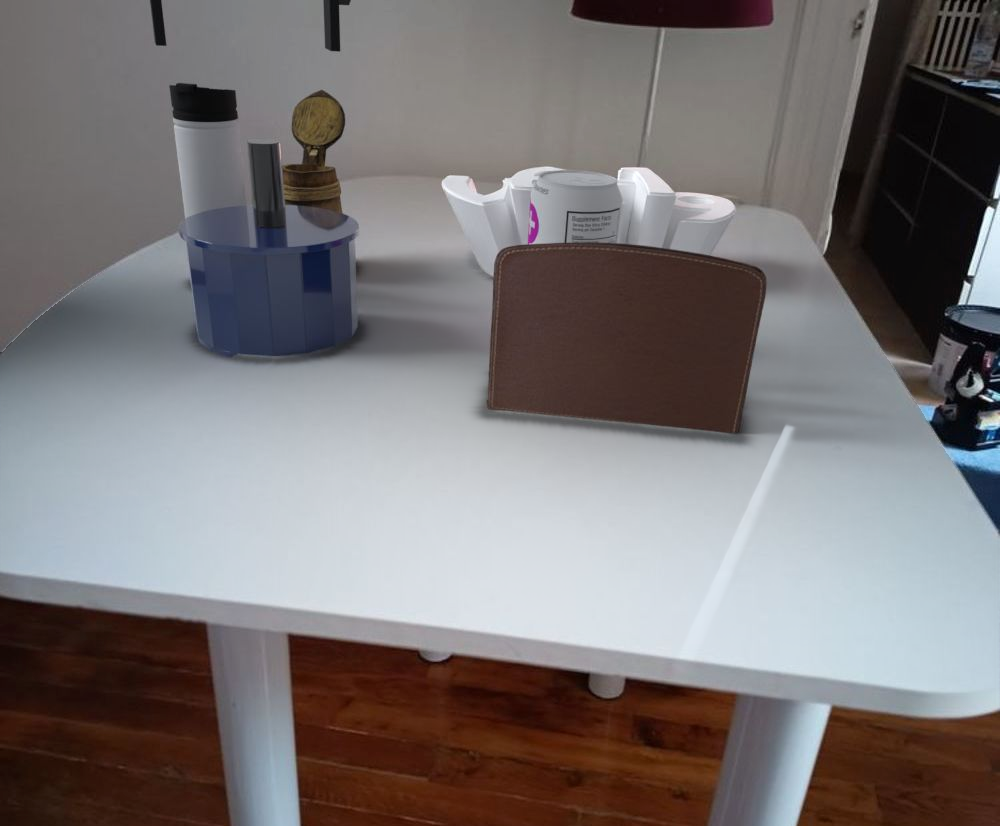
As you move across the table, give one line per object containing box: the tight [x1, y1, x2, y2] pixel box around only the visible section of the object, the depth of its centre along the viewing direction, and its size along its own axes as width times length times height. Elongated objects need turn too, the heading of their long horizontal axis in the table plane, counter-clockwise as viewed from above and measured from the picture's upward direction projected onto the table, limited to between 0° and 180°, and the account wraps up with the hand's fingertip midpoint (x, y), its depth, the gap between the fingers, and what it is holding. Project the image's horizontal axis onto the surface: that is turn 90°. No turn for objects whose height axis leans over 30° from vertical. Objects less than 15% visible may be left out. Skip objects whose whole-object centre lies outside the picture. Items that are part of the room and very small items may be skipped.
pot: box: [184, 238, 359, 358], centre depth 84 cm, size 15×15×10 cm
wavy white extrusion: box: [440, 166, 737, 278], centre depth 107 cm, size 35×16×11 cm, turn 88°
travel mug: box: [168, 82, 248, 219], centre depth 93 cm, size 6×7×20 cm
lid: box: [178, 138, 360, 255], centre depth 80 cm, size 16×16×8 cm
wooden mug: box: [282, 89, 346, 213], centre depth 102 cm, size 9×14×18 cm, turn 178°
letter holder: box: [486, 242, 768, 435], centre depth 72 cm, size 10×20×14 cm, turn 82°
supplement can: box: [528, 169, 623, 244], centre depth 85 cm, size 8×8×15 cm
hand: (249, 47), depth 74 cm, fingers open, 13 cm apart
